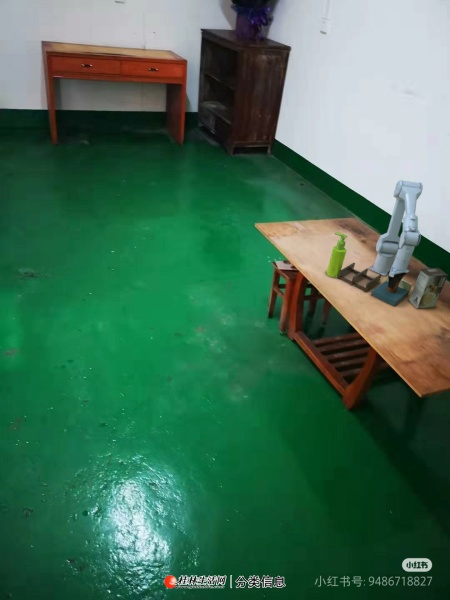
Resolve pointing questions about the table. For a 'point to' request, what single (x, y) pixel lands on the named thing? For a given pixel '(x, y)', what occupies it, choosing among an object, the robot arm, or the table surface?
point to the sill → (392, 297)
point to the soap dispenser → (337, 257)
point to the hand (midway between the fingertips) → (392, 285)
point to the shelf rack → (358, 277)
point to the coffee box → (428, 287)
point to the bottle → (393, 288)
